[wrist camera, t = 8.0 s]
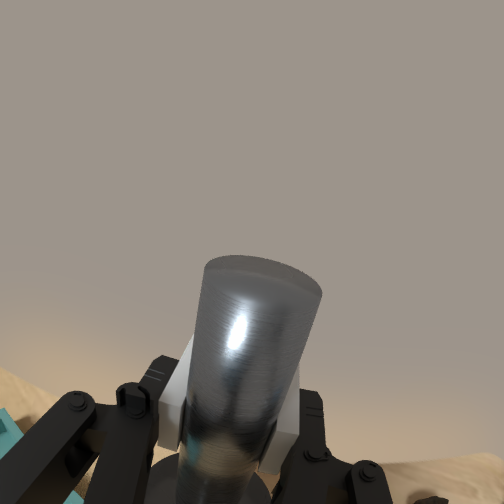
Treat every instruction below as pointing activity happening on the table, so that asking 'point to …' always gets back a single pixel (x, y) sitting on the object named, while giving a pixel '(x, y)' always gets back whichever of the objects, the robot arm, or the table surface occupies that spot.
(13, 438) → the tray
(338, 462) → the robot arm
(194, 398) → the joystick
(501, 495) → the table surface
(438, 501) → the hand tool
